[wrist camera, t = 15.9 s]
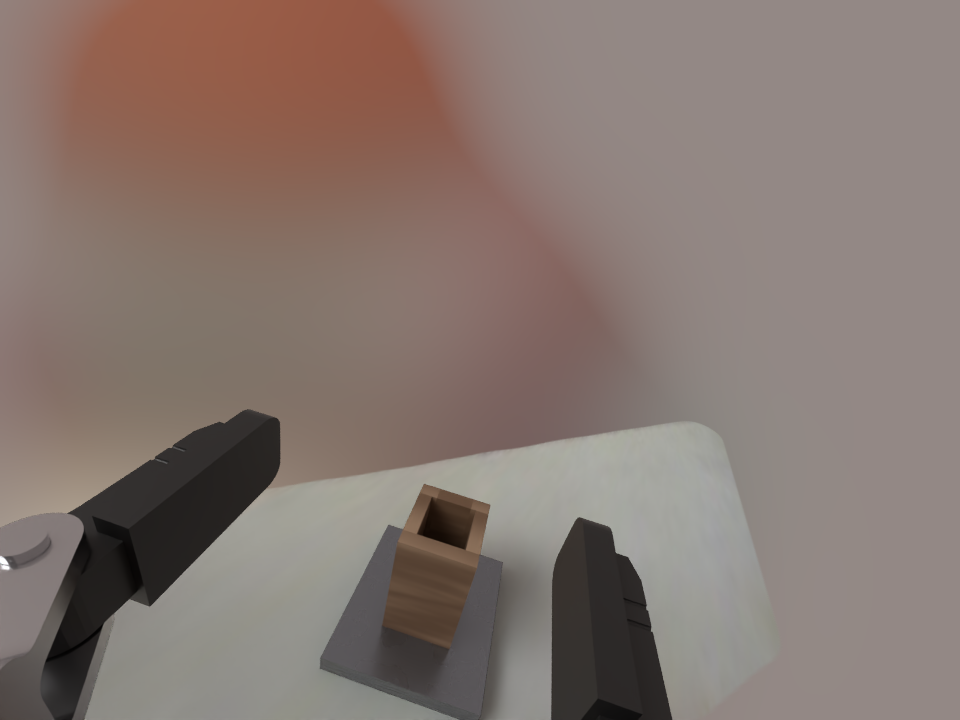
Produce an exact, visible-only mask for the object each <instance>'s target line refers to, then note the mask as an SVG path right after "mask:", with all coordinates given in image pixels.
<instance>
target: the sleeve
mask: <svg viewBox="0 0 960 720" xmlns="http://www.w3.org/2000/svg"><path fill="white" fill-rule="evenodd" d="M489 509H490V505H489V504H486V503H483V502H480V501H477V500H474V499H470V498H467V497H464V496H461V495H458V494H455V493H451V492H448V491H445V490H442V489H439V488H436V487H433V486H429V485H426V484H424V485H423V487H422V489H421V492H420V494H419V496H418V498H417V500H416V503H415V505H414V507H413V509H412V511H411V513H410V516H409V518H408V520H407V522H406V524H405V527H404V529H403V531H402V533H401V535H400V537H399V540H398V542H397V548H396V553H395V558H394V564H393V569H392V575H391V580H390V585H389V591H388V596H387V602H386V607H385V612H384V618H383V623H382V626H384V627H387V628H390V629H393V630H396V631H399V632H402V633H404V634H407V635H410V636H413V637H416V638H419V639H422V640H424V641H427V642H430V643H433V644H436V645H439V646H441V647H444V648H447V649H450V646H451V643H452V640H453V637H454V634H455V631H456V628H457V625H458V622H459V620H460V617H461V614H462V611H463V608H464V605H465V602H466V599H467V596H468V593H469V590H470V587H471V584H472V581H473V578H474V575H475V572H476V569H477V566H478V561H479V556H480V551H481V547H482V542H483V537H484V532H485V528H486V523H487V518H488V514H489Z"/></svg>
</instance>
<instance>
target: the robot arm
mask: <svg viewBox="0 0 960 720" xmlns="http://www.w3.org/2000/svg"><path fill="white" fill-rule="evenodd" d="M279 466H280V422H279V420H278V419H277V418H275V417H272V416H269V415H266V414H262V413H259V412H256V411H253V410H244V411H242V412H241V413H239V414H238V415H236V416H235V417H233V418H232V419H230V420H229V421H228V422H226V423H225V424H224V423H221V422H218V423H215V424H212V425H210V426H207V427H204V428H202V429H199V430H196V431H194V432H192V433H191V434H189V435H188V436H186V437H185V438H183V439H182V440H180V441H179V442H177V443H175V444H174V445H173V447H172V448H168V449H166V450H165V451H163V452H162V453H160V454H159V455H157V456H156V457H155V459H154V460H149V461H148V462H146V463H145V464H143V465H142V466H140V467H139V468H137V469H136V470H134V471H133V472H131V473H130V474H128V475H127V476H125V477H124V478H122V479H121V480H119V481H117V482H116V483H115V484H113V485H111V486H110V487H108V488H107V489H105V490H104V491H103V492H101V493H99V494H98V495H96V496H95V497H93V498H92V499H90V500H88V501H87V502H85V503H84V504H82V505H81V506H79V507H78V508H76V509H74V510H73V511H71V512H69V513H67V514H66V513H46V514H40V515H35V516H31V517H27V518H24V519H20V520H18V521H15V522H12V523H10V524H8V525H5V526H3V527H1V528H0V720H84V718H85V715H86V712H87V709H88V705H89V702H90V699H91V696H92V692H93V689H94V686H95V682H96V679H97V676H98V673H99V669H100V666H101V663H102V660H103V656H104V653H105V650H106V646H107V643H108V640H109V637H110V633H111V630H112V627H113V623H114V613H115V612H116V611H117V610H118V609H119V608H120V607H121V606H122V605H123V604H124V603H125V602H127V601H128V600H129V599H131V600H134V601H136V602H139V603H142V604H144V605H147V606H151V605H152V604H153V603H154V602H155V601H156V600H157V599H158V598H159V597H160V596H161V595H162V594H163V593H164V592H165V591H166V590H167V589H168V588H169V587H170V586H171V585H172V584H173V583H174V582H175V581H176V580H177V579H178V577H179V576H180V575H181V574H182V573H183V572H184V571H185V570H186V569H187V568H188V567H189V566H190V565H191V564H192V563H193V562H194V561H195V560H196V559H197V558H198V557H199V556H200V555H201V554H202V553H203V552H204V551H205V550H206V549H207V548H208V547H209V546H210V545H211V544H212V543H213V542H214V541H215V540H216V539H217V538H218V537H219V536H220V535H221V534H222V533H223V532H224V531H225V530H226V529H227V528H228V527H229V526H230V525H231V524H232V523H233V522H234V521H235V520H236V519H237V518H238V516H239V515H240V514H241V513H242V512H243V511H244V510H245V509H246V508H247V507H248V506H249V505H250V504H251V503H252V502H253V501H254V500H255V499H256V498H257V497H258V496H259V495H260V494H261V493H262V492H263V491H264V490H265V489H266V488H267V487H268V486H269V485H270V484H271V482H272V481H273V479H274V478H275V476H276V474H277V472H278V469H279ZM646 606H647V604H646V600H645V595H644V591H643V586H642V582H641V579H640V578H639V576H638V574H637V572H636V571H635V569H634V567H633V565H632V563H631V562H630V560H629V558H628V557H626V556H623V555H620V554H617V553H616V552H615V546H614V540H613V534H612V531H611V529H610V527H608V526H605V525H602V524H599V523H596V522H592V521H589V520H586V519H583V518H580V517H579V518H577V519H576V521H575V523H574V525H573V527H572V529H571V531H570V533H569V534H568V536H567V538H566V540H565V542H564V544H563V546H562V548H561V550H560V552H559V554H558V556H557V559H556V562H555V566H554V572H553V580H552V705H551V720H672V716H671V712H670V707H669V703H668V698H667V694H666V689H665V685H664V680H663V676H662V672H661V667H660V663H659V658H658V654H657V649H656V645H655V640H654V636H653V632H651V622H650V618H649V613H648V610H646Z"/></svg>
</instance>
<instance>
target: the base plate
mask: <svg viewBox="0 0 960 720" xmlns="http://www.w3.org/2000/svg"><path fill="white" fill-rule="evenodd" d="M402 531H403V529H400V528H397V527H394V526H391V525H388V527H387V529H386V531H385V533H384V535H383V537H382V538H381V540H380V542H379V544H378V546H377V548H376V550H375V552H374V554H373V556H372V558H371V560H370V562H369V564H368V566H367V568H366V570H365V572H364V574H363V576H362V578H361V580H360V582H359V584H358V586H357V587H356V589H355V591H354V593H353V595H352V597H351V599H350V601H349V603H348V605H347V607H346V609H345V611H344V613H343V615H342V617H341V619H340V621H339V623H338V625H337V627H336V629H335V631H334V633H333V635H332V636H331V638H330V640H329V642H328V644H327V646H326V648H325V650H324V652H323V654H322V656H321V660H320V669H323V670H325V671H328V672H331V673H334V674H336V675H339V676H342V677H345V678H347V679H350V680H353V681H356V682H358V683H361V684H364V685H367V686H369V687H372V688H375V689H378V690H380V691H383V692H386V693H389V694H391V695H394V696H397V697H400V698H402V699H405V700H408V701H410V702H413V703H416V704H419V705H421V706H424V707H427V708H430V709H432V710H435V711H438V712H441V713H443V714H446V715H449V716H452V717H454V718H457V719H460V720H479V718H480V716H481V709H482V702H483V696H484V689H485V682H486V675H487V668H488V661H489V654H490V647H491V640H492V633H493V626H494V619H495V612H496V605H497V598H498V591H499V584H500V578H501V571H502V564H503V562H500V561H497V560H494V559H491V558H488V557H485V556H482V555H480V556H479V561H478V566H477V569H476V572H475V575H474V578H473V581H472V584H471V587H470V590H469V593H468V596H467V599H466V602H465V605H464V608H463V611H462V614H461V617H460V620H459V622H458V625H457V628H456V631H455V634H454V637H453V640H452V643H451V646H450V649H447V648H444V647H441V646H439V645H436V644H433V643H430V642H427V641H424V640H422V639H419V638H416V637H413V636H410V635H407V634H404V633H402V632H399V631H396V630H393V629H390V628H387V627H384V626H382V623H383V618H384V612H385V607H386V602H387V596H388V591H389V585H390V580H391V575H392V569H393V564H394V558H395V553H396V548H397V542H398V540H399V537H400V535H401V533H402Z"/></svg>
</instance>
